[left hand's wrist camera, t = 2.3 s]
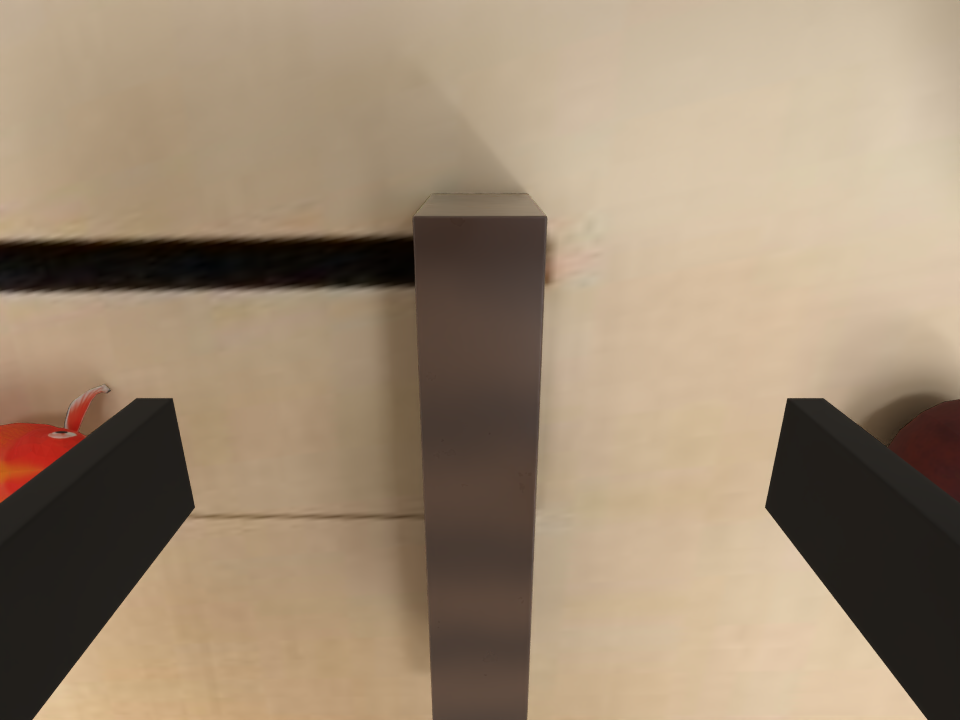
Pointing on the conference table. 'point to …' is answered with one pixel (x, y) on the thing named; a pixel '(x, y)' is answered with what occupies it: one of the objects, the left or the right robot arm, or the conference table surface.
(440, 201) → the rail
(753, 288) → the conference table surface
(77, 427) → the fish
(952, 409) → the dark red ball
